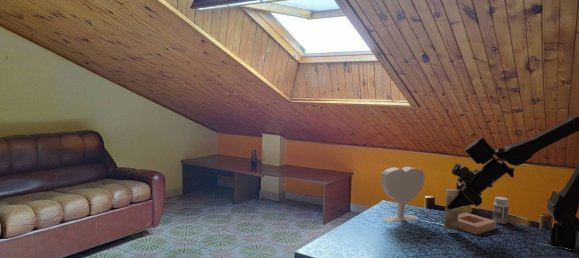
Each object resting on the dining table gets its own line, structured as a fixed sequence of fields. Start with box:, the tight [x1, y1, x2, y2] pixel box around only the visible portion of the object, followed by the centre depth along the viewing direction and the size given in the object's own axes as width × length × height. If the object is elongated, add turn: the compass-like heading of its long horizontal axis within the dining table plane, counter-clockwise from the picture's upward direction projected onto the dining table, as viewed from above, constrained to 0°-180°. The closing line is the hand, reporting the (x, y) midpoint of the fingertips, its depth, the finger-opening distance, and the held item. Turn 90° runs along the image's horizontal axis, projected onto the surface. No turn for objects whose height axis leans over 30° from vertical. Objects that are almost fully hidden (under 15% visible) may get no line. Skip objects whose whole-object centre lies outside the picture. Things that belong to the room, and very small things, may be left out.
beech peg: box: [443, 188, 459, 230], centre depth 133 cm, size 4×4×12 cm
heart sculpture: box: [380, 166, 426, 223], centre depth 146 cm, size 16×5×18 cm, turn 109°
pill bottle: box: [491, 196, 509, 224], centre depth 146 cm, size 5×5×8 cm
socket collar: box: [457, 213, 497, 235], centre depth 140 cm, size 11×11×2 cm
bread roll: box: [459, 205, 473, 214], centre depth 157 cm, size 8×9×4 cm
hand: (447, 206), depth 133 cm, fingers closed on beech peg, 4 cm apart
